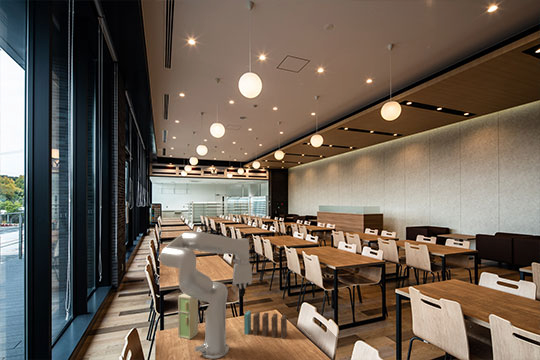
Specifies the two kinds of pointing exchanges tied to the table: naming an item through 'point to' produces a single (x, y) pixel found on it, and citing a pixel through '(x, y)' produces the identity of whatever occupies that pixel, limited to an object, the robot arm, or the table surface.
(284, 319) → the domino
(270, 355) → the table surface
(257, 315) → the domino
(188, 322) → the toy refrigerator
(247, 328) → the domino
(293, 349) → the table surface
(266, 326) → the domino
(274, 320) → the domino
